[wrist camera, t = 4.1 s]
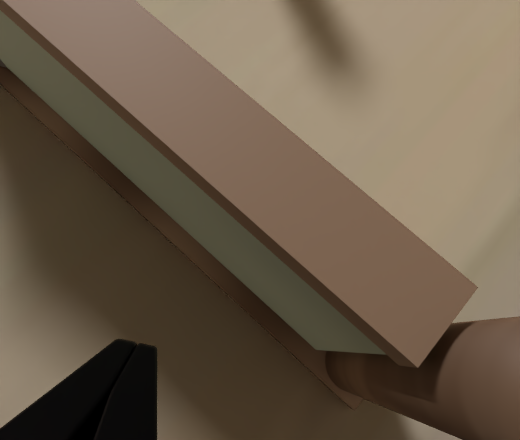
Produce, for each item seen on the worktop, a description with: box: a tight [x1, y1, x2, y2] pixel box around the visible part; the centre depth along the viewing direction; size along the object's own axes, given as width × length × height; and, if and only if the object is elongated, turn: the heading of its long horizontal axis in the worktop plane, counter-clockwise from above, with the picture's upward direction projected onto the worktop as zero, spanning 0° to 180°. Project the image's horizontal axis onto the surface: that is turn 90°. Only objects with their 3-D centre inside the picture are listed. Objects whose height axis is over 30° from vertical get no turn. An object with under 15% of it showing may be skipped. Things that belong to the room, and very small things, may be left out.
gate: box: [0, 0, 478, 368], centre depth 12 cm, size 17×2×9 cm, turn 48°
